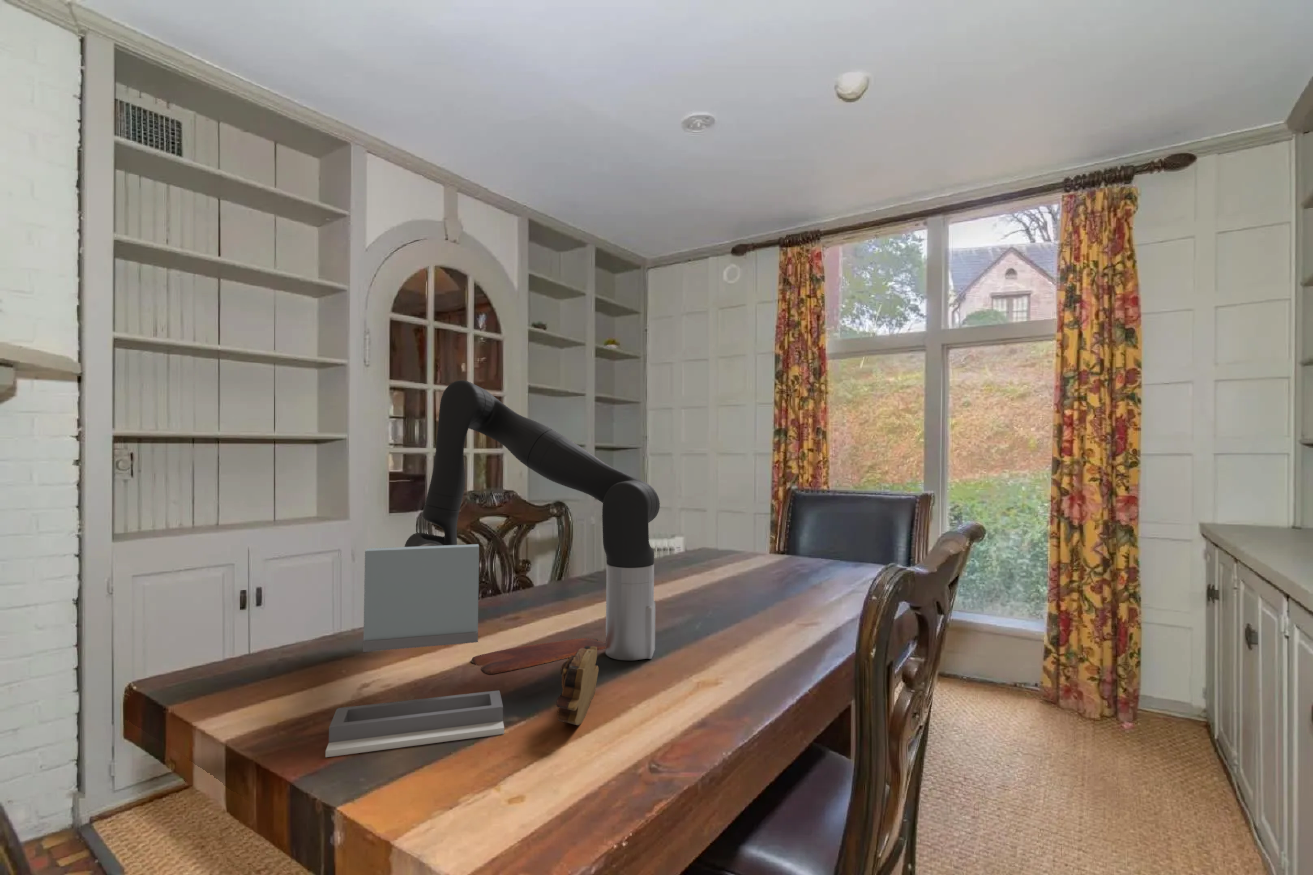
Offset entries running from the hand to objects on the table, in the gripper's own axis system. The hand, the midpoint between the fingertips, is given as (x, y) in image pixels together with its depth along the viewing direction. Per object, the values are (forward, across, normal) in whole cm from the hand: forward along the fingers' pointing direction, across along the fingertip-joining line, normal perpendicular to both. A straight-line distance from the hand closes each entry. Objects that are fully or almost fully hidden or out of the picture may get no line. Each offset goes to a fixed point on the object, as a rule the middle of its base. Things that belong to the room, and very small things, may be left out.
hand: (424, 586), depth 97 cm
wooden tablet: (-18, +21, +19) cm, 33 cm away
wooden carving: (+13, +22, +18) cm, 31 cm away
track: (+10, 0, +18) cm, 20 cm away
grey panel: (0, 0, +8) cm, 8 cm away
